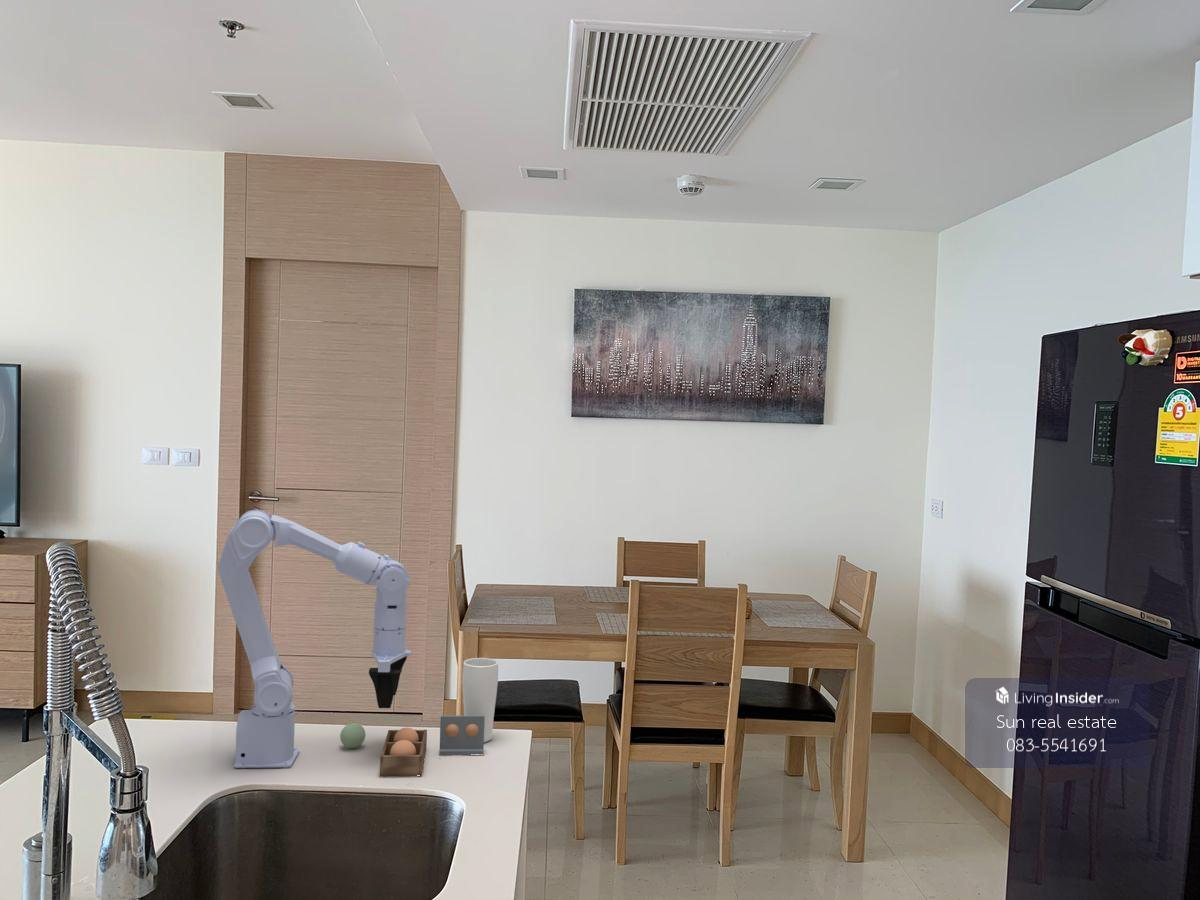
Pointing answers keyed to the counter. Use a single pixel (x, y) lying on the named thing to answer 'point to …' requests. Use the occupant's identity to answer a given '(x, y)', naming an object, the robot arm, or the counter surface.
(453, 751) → the card
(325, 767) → the counter surface
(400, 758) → the pair tray
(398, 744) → the terracotta ball
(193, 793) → the counter surface
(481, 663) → the white tall tapered cylinder
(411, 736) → the terracotta ball
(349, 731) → the sage ball
